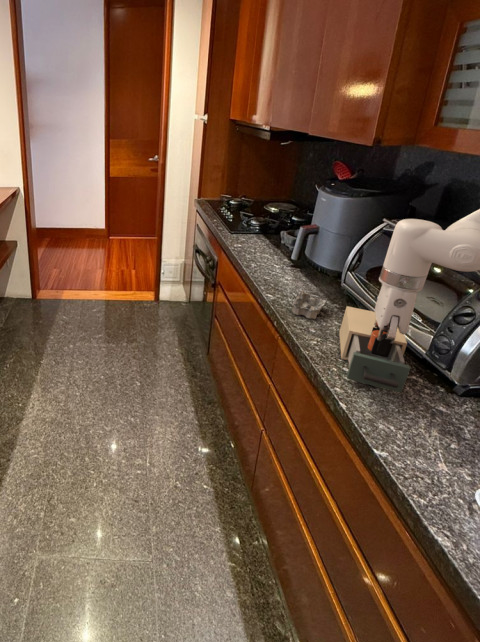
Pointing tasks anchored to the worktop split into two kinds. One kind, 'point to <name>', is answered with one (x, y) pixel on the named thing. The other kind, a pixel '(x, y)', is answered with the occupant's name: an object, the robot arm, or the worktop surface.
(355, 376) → the green-fronted drawer
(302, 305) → the egg carton
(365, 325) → the wooden drawer box
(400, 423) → the worktop surface
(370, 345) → the orange cylinder
